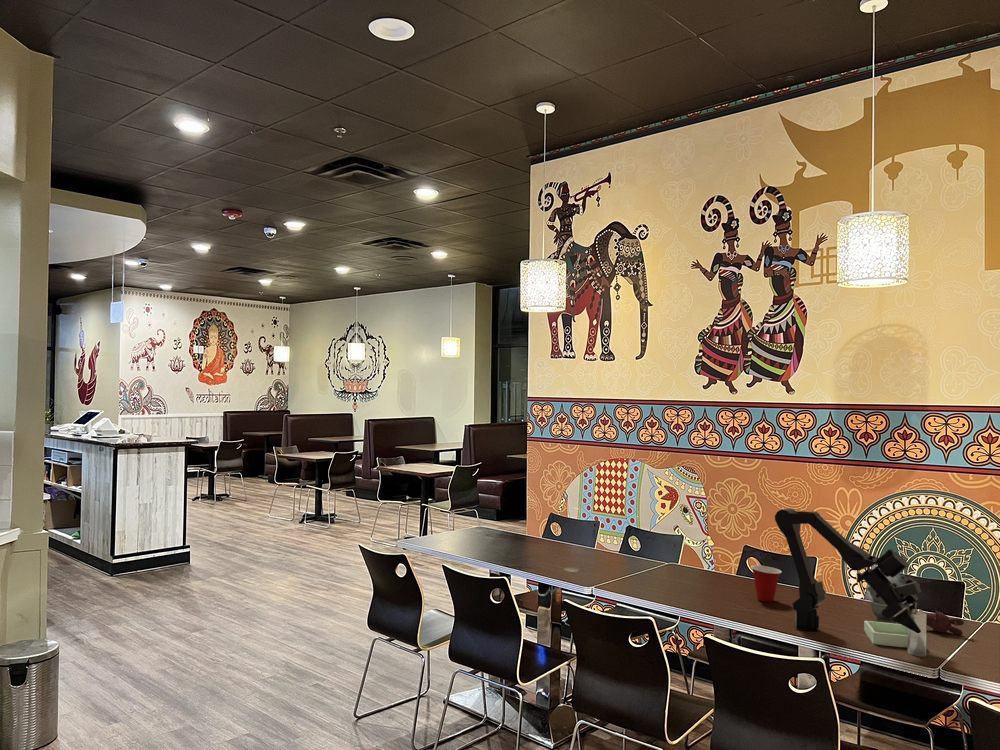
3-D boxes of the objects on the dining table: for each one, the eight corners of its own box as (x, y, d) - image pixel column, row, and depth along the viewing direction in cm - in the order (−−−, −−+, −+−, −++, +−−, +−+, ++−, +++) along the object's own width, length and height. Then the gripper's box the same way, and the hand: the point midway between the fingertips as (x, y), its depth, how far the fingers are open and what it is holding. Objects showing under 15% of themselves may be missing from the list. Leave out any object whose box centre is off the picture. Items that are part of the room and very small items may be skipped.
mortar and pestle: (906, 623, 249) (906, 588, 249) (897, 629, 242) (897, 592, 243) (871, 616, 257) (871, 582, 257) (861, 621, 250) (862, 586, 251)
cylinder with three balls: (909, 655, 216) (910, 610, 216) (905, 650, 220) (906, 606, 221) (928, 657, 214) (928, 612, 215) (923, 652, 219) (923, 608, 219)
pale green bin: (873, 644, 225) (873, 632, 225) (864, 631, 238) (864, 620, 238) (922, 649, 221) (922, 637, 222) (910, 636, 234) (910, 625, 235)
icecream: (910, 610, 242) (963, 623, 233) (913, 600, 247) (965, 613, 238) (908, 629, 243) (961, 643, 234) (912, 619, 249) (963, 632, 240)
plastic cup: (783, 604, 269) (784, 572, 269) (753, 602, 271) (753, 569, 271) (778, 597, 279) (779, 565, 280) (749, 595, 281) (749, 563, 282)
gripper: (893, 575, 214) (936, 621, 206) (911, 566, 228) (951, 609, 220) (864, 597, 219) (905, 643, 211) (883, 587, 233) (922, 630, 225)
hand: (922, 630), depth 217 cm, fingers closed on cylinder with three balls, 5 cm apart
